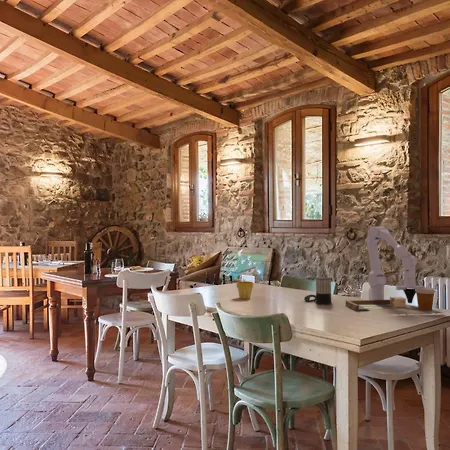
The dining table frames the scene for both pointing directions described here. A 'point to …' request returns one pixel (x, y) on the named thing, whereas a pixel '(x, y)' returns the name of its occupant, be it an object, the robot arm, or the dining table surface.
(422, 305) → the disposable coffee cup
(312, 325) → the dining table surface
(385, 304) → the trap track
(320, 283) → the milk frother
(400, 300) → the maple block
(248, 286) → the plant pot
